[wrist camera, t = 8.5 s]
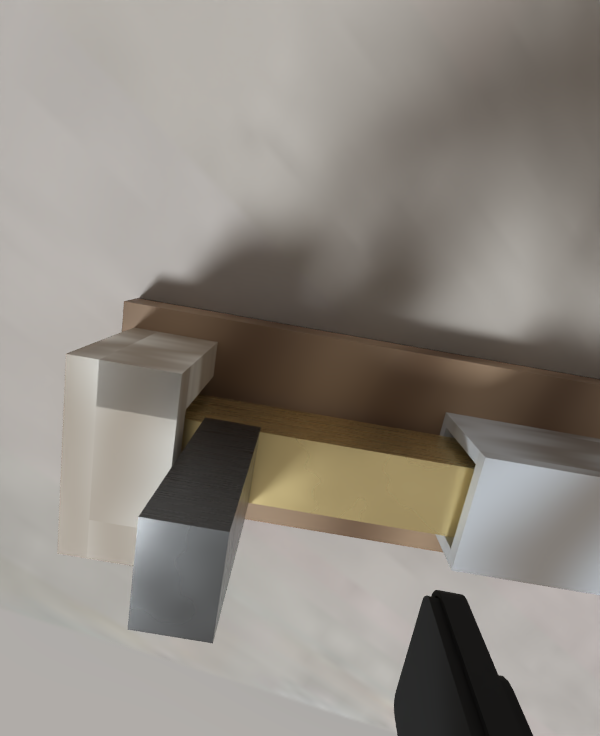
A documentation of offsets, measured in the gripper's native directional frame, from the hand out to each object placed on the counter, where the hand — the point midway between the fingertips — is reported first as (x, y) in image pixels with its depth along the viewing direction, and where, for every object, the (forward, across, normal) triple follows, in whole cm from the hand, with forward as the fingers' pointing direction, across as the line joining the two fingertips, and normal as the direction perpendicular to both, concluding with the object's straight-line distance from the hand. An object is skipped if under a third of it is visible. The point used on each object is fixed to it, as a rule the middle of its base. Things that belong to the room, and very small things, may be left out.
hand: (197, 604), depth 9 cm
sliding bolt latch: (+12, -6, 0) cm, 13 cm away
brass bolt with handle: (+9, -3, 0) cm, 10 cm away
